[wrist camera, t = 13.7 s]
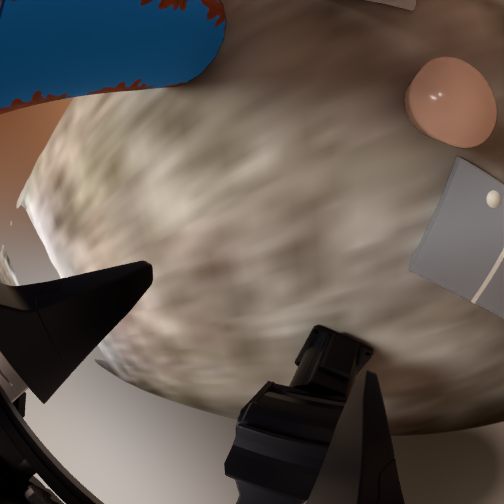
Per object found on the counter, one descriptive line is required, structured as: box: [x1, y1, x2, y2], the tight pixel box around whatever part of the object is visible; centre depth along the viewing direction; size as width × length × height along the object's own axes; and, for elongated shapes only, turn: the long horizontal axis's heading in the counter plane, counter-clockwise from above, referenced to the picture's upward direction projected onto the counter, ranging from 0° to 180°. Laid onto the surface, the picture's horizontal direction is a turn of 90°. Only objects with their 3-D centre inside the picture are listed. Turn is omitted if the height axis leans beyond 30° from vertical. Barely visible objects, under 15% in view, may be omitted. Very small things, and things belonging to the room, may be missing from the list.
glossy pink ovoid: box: [404, 57, 497, 148], centre depth 11 cm, size 4×4×6 cm
